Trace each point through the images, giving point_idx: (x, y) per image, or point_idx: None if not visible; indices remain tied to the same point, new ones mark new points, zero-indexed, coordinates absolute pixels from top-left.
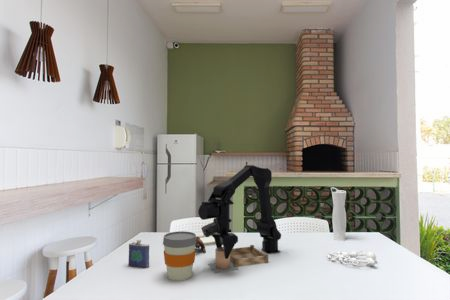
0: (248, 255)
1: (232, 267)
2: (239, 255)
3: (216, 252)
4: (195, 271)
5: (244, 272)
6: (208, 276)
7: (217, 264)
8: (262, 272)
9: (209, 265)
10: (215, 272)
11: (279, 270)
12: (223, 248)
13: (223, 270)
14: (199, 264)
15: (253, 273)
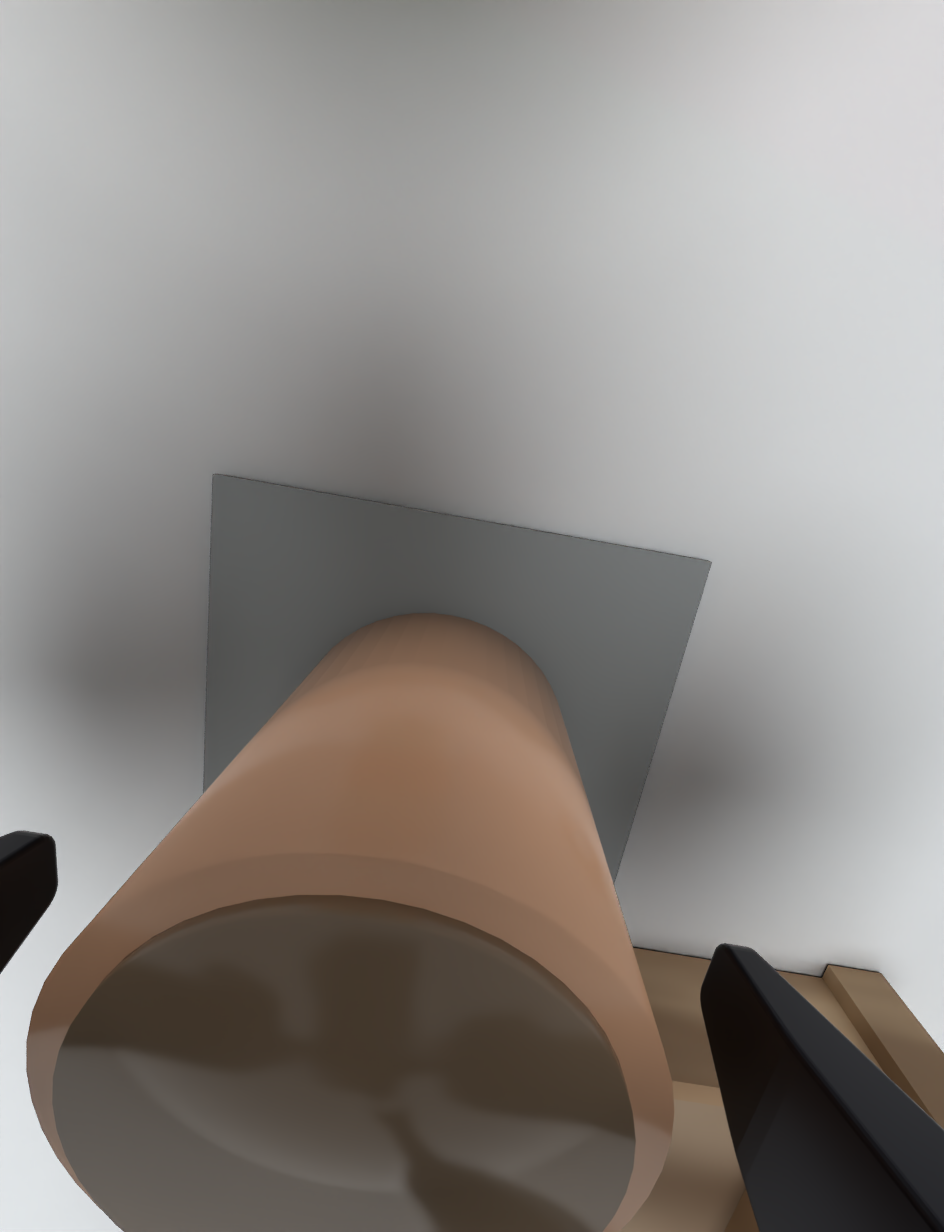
0: (629, 1225)
1: None
2: (710, 1150)
3: (324, 794)
4: (511, 129)
5: (96, 894)
6: (138, 287)
7: (368, 643)
8: (20, 1059)
9: (619, 563)
10: (238, 498)
11: (19, 1212)
12: (367, 1183)
13: (263, 669)
14: (822, 413)
15: (23, 965)
